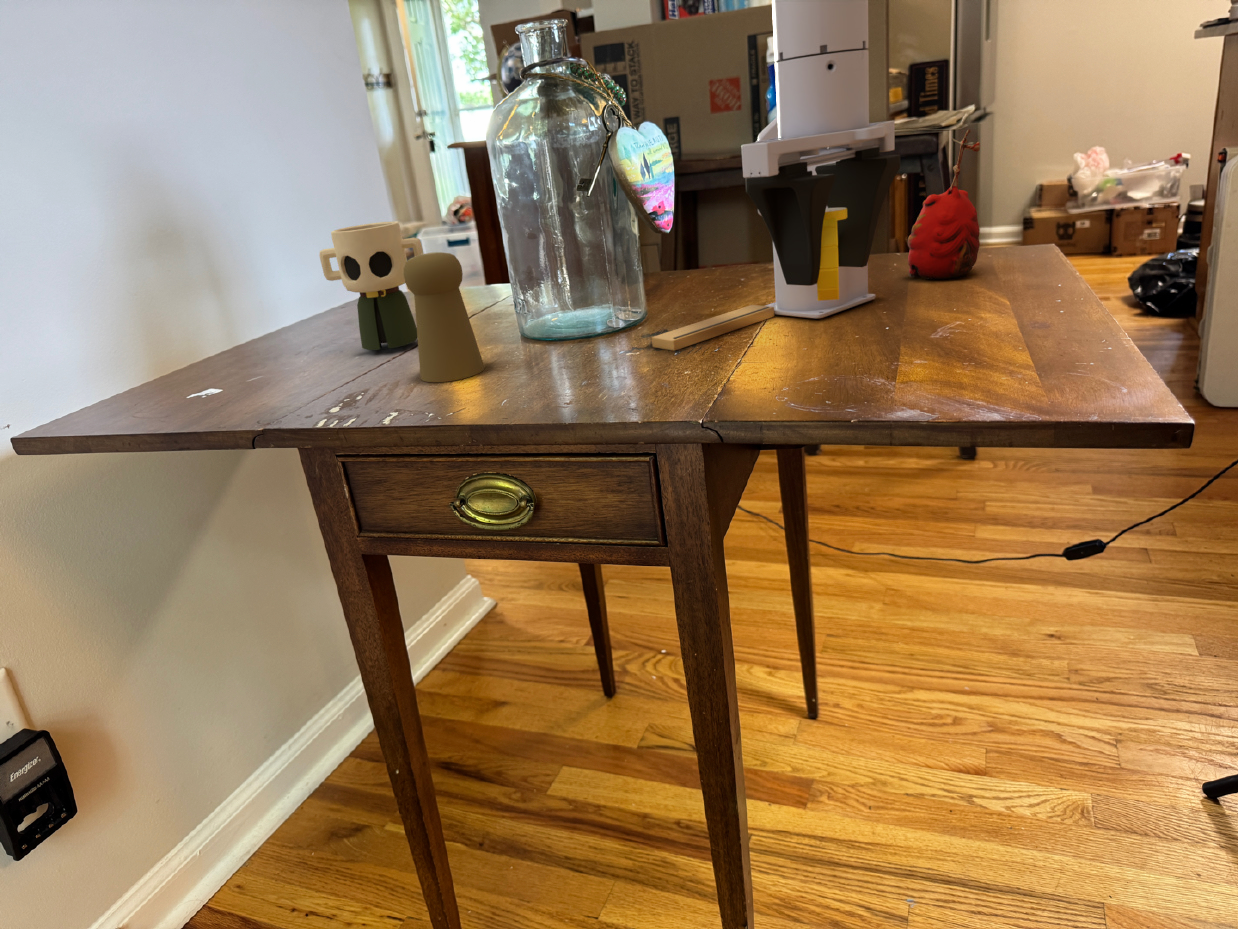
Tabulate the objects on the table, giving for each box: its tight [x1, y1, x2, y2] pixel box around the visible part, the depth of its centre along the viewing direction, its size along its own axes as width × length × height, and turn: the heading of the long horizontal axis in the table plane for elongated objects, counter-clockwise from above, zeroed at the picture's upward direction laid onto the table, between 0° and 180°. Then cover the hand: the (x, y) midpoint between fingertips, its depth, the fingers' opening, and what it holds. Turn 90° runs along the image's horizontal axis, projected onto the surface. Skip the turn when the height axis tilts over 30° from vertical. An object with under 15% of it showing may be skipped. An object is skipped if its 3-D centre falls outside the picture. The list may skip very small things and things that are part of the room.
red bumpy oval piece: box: [907, 128, 981, 281], centre depth 91 cm, size 8×7×15 cm
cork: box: [404, 251, 486, 383], centre depth 77 cm, size 6×6×11 cm
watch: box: [817, 207, 847, 301], centre depth 57 cm, size 6×3×6 cm, turn 168°
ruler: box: [651, 304, 775, 352], centre depth 82 cm, size 14×3×1 cm, turn 130°
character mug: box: [318, 221, 424, 351], centre depth 91 cm, size 11×7×13 cm, turn 91°
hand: (827, 275), depth 58 cm, fingers closed on watch, 5 cm apart
